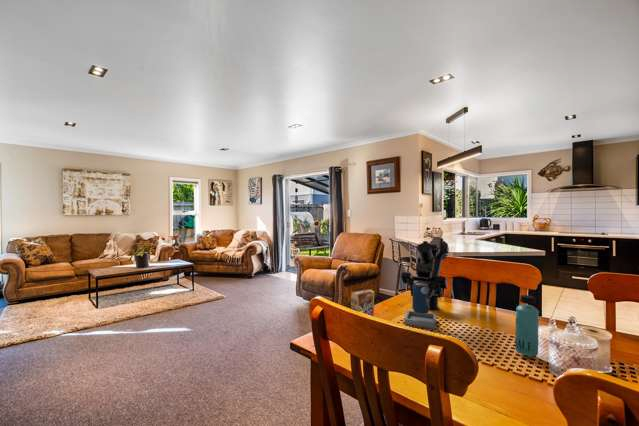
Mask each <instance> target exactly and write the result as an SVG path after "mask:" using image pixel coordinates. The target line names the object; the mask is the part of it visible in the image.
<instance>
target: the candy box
mask: <svg viewBox="0 0 639 426" xmlns="http://www.w3.org/2000/svg"><path fill="white" fill-rule="evenodd" d="M351 309H353V310H356V311H363V313H365V314H368V315H371V316H374V314H375V311H374V309H375V291H374V290H372V289H362V290H358V291H357V290H356V291H351V297H350V310H351Z"/></svg>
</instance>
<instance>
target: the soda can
mask: <svg viewBox="0 0 639 426" xmlns="http://www.w3.org/2000/svg"><path fill="white" fill-rule="evenodd" d="M429 292H430V288H429V286H428V284H427V283H424V282H420V281H414V285H413V296H412V301H411V302H412V307H411V308H412V311H414V312H416V313H418V314H427V313H430V311H431V310H430V299H428V296H429Z"/></svg>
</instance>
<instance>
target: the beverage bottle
mask: <svg viewBox="0 0 639 426" xmlns="http://www.w3.org/2000/svg"><path fill="white" fill-rule="evenodd" d="M519 301H520V303H522V304H519V305H517V306H516V308H515V309H516V311H515V312H516V313H515V324H514V325H515V331H514V333H515V337H514V342H515V343H514V347H515V348H514V349H515V351H516V352H517V353H519V354H521V355H524V356H528V357H537V356H538V355H539V321H540V320H539V318H540V315H539V314H540V311H539V309H538V308H536V307H535V306H534V305H535V304H536V298H535V296H532V295H529V294H528V295H527V294H522V295H520V299H519Z"/></svg>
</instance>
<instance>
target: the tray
mask: <svg viewBox="0 0 639 426" xmlns="http://www.w3.org/2000/svg"><path fill="white" fill-rule="evenodd" d="M436 315H437V314H436V313H431V312H428V313H427V314H418V313H416V312H414V310H408V309H407V310H406V314H405V316H404V320H403V321H404V324H403V325H404V326H408V327H415V328H422V329H428V330H434V331H435V330H436V326H437V325H436V321H437V320H436Z"/></svg>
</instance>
